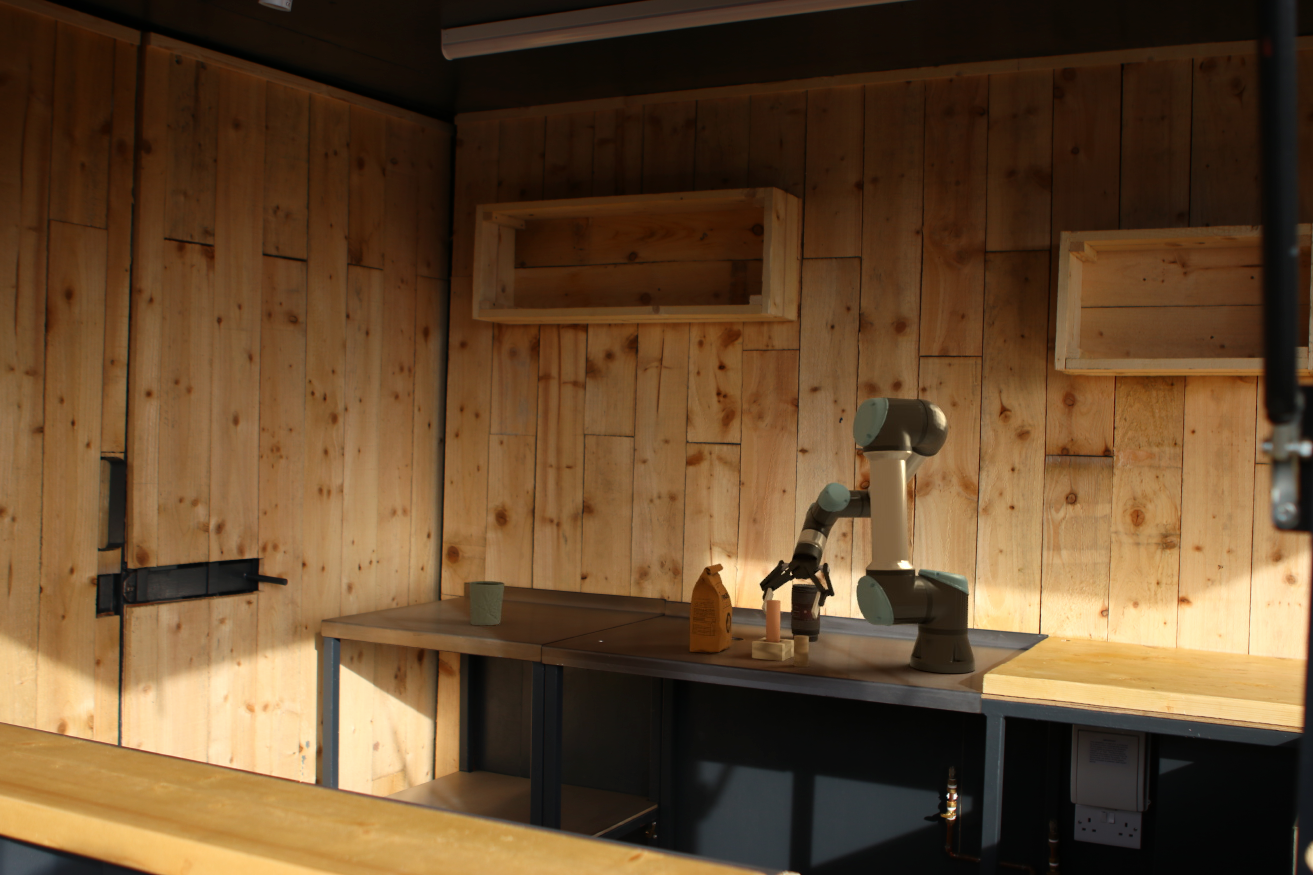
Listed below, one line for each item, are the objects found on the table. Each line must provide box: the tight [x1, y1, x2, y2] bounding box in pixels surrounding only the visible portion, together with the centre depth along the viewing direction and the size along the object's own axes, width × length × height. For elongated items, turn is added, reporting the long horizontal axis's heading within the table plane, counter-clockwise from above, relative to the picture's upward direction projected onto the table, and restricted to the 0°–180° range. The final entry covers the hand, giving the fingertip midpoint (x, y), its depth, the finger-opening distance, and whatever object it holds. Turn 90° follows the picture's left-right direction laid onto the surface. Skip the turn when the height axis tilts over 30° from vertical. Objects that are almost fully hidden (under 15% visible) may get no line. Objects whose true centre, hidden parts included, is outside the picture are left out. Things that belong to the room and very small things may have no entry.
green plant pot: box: [468, 580, 505, 626], centre depth 324 cm, size 10×10×12 cm
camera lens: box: [790, 583, 821, 643], centre depth 305 cm, size 8×8×15 cm
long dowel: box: [765, 599, 782, 643], centre depth 279 cm, size 4×4×14 cm
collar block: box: [751, 636, 794, 662], centre depth 278 cm, size 8×8×4 cm
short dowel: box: [793, 635, 810, 668], centre depth 268 cm, size 4×4×7 cm
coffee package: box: [689, 563, 733, 654], centre depth 286 cm, size 10×12×22 cm
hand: (788, 612), depth 288 cm, fingers open, 13 cm apart
